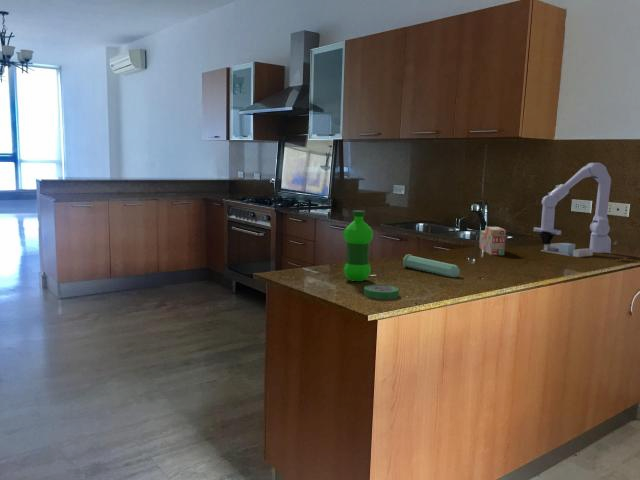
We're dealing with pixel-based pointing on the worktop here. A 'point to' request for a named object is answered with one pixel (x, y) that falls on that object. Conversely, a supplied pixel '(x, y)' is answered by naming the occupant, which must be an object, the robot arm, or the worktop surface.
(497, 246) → the printed cardboard box
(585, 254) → the vise
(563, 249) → the steel block
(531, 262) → the worktop surface
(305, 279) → the worktop surface
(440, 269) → the container
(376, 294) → the tape roll
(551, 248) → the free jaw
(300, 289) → the worktop surface
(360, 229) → the plastic bottle
